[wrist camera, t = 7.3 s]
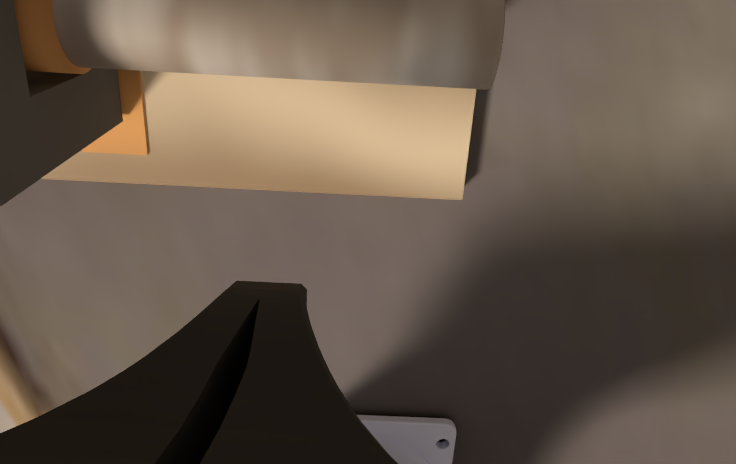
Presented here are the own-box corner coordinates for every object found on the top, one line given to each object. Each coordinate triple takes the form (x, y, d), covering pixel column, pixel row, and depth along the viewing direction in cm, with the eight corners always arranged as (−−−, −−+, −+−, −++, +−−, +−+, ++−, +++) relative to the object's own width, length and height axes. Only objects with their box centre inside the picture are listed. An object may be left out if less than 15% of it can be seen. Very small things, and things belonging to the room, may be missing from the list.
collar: (123, 121, 18) (1, 206, 12) (69, 118, 18) (-81, 202, 12) (93, -141, 16) (-84, -203, 9) (30, -146, 16) (-191, -209, 9)
